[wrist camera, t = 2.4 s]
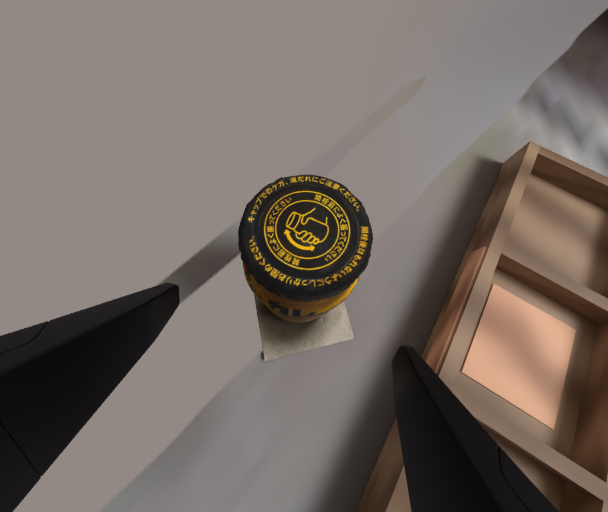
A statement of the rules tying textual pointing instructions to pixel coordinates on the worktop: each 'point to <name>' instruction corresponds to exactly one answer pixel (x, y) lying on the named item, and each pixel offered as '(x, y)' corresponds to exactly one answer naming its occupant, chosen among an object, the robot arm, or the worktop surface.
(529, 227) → the tray
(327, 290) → the condiment
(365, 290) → the worktop surface
